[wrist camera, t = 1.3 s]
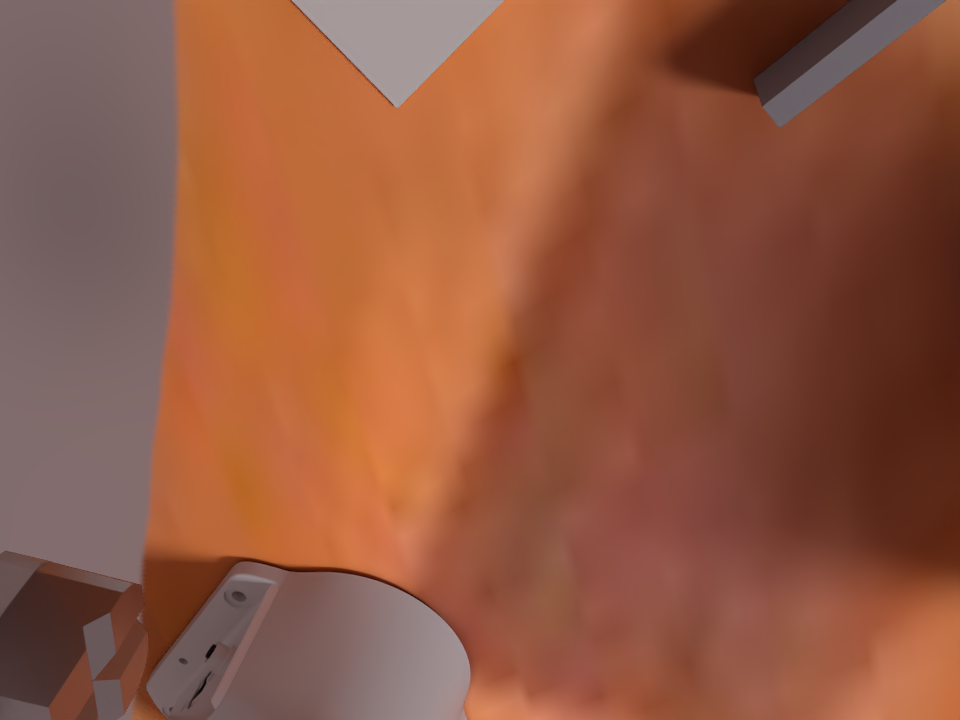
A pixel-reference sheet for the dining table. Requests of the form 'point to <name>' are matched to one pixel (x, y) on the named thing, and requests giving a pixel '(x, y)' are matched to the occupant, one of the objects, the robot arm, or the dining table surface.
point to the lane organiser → (834, 52)
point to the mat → (397, 36)
